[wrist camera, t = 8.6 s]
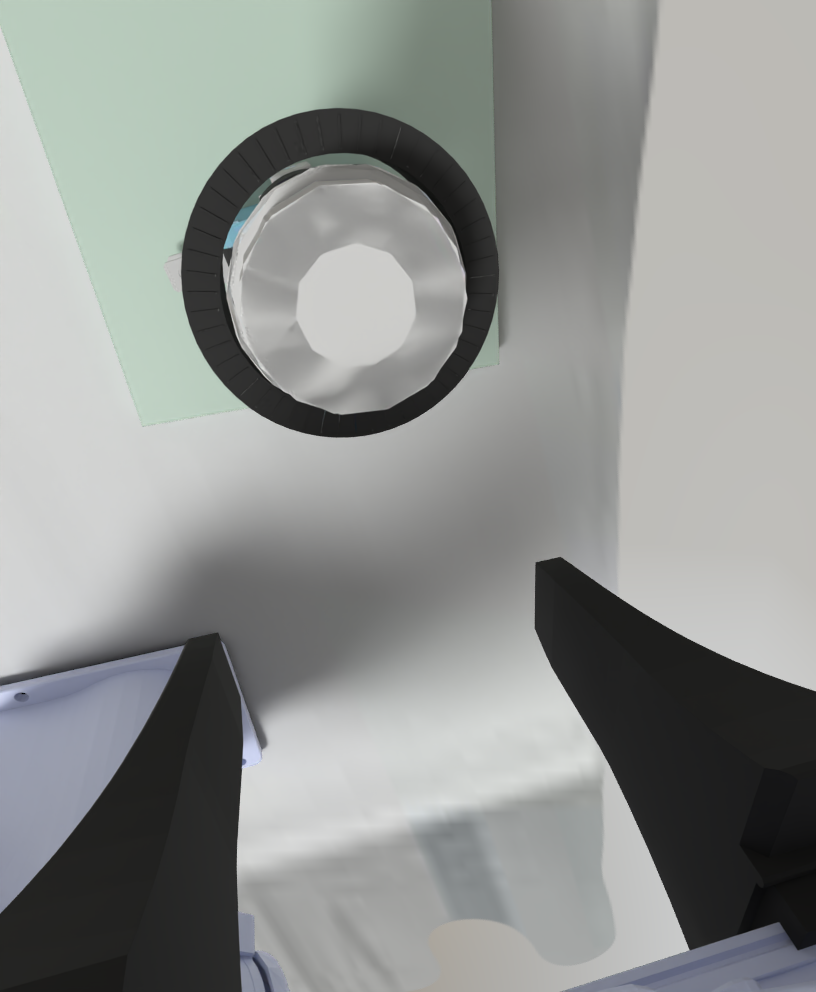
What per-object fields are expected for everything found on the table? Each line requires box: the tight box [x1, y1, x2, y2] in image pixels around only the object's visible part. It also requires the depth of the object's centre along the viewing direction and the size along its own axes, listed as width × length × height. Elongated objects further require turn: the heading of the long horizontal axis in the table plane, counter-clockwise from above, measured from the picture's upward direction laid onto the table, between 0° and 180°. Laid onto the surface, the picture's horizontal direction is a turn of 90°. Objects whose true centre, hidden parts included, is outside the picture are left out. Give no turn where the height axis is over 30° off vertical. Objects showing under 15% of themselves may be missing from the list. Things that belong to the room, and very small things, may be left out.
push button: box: [164, 108, 499, 437], centre depth 14 cm, size 7×5×10 cm
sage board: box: [0, 0, 499, 427], centre depth 18 cm, size 12×12×1 cm
